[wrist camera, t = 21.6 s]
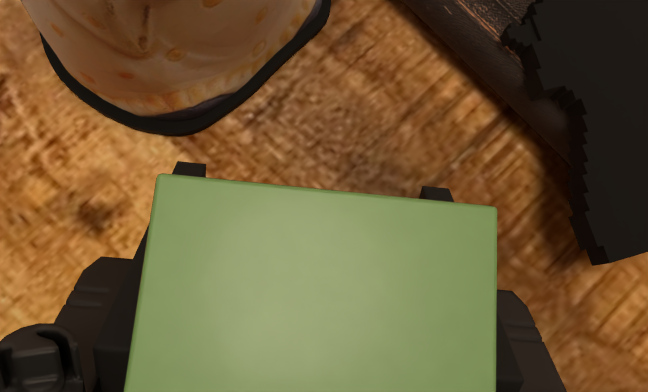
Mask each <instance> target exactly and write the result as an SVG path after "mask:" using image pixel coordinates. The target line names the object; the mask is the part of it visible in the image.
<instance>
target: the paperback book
mask: <svg viewBox="0 0 648 392" xmlns="http://www.w3.org/2000/svg"><path fill="white" fill-rule="evenodd" d="M402 1H403V2H404V3H405V4H406V5H407V6H408V7H409V8H410V9H411V10H412V11H413V12H414V13H415V14H416V15H417V16H418V17H419V18H420V19H421V20H422V21H424V22H425V23H426V24H427V25H428V26H429V27H430V28H431V29H432V30H433V31H434V32H435V33H436V34H437V35H438V36H439V37H440V38H441V39H442V40H443V41H444V42H445V43H446V44H447V45H448V46H449V47H450V48H451V49H452V50H453V51H454V52H455V53H456V54H457V55H458V56H459V57H460V58H461V59H462V60H463V61H464V62H465V63H466V64H467V65H468V66H469V67H470V68H471V69H472V70H473V71H474V72H475V73H477V74H478V75H479V76H480V77H481V78H482V79H483V80H484V81H485V82H486V83H487V84H488V85H489V86H490V87H491V88H492V89H493V90H494V91H495V92H496V93H497V94H498V95H499V96H500V97H501V98H502V99H503V100H504V101H505V102H506V103H507V104H508V105H509V106H510V107H511V108H512V109H513V110H514V111H515V112H516V113H517V114H518V115H519V116H520V117H521V118H522V119H523V120H524V121H525V122H526V123H527V124H529V125H530V126H531V127H532V128H533V129H534V130H535V131H536V132H537V133H538V134H539V135H540V136H541V137H542V138H543V139H544V140H545V141H546V142H547V143H548V144H549V145H550V146H551V147H552V148H553V149H554V150H555V151H556V152H557V153H558V154H559V155H560V156H561V157H562V158H563V159H564V160H565V161H566V162H567V163H568V164H569V165H570V166H571V164H570V161H569V158H568V156H567V153H569V152H570V151H571V149H570V147H569V144H568V141H570V140H572V138H571V135H570V132H569V130H568V127H567V125H568V124H570V123H571V121H570V119H569V116H568V113H567V111H566V109H564V110H561V109H560V106H559V104H558V101H557V100H556V101H552V99H551V97H546V98H542V99H538V100H534V101H530V98H529V95H528V93H527V90H526V87H525V85H524V82H523V81H524V80H525V79H527V76H526V73H525V70H524V68H523V65H522V62H521V60H520V57H519V56H520V54H516V52H515V50H511V51H510V50H509V47H508V46H506V47H503V45H502V43H501V40H500V36H501V35H502V34H503V30H504V29H505V28H506V27H507V26H508V24H509V23H512V22H515V24H516V27H518V26H520V24H521V23H522V21H521V19H522V18H523V16H524V15H525V14H526V13H527V12H528V10H527V7H528V6H529V5H530V4H531V2H535V0H402ZM571 167H572V166H571Z"/></svg>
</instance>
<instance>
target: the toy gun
mask: <svg viewBox="0 0 648 392" xmlns="http://www.w3.org/2000/svg"><path fill="white" fill-rule="evenodd" d="M527 10H528V12H527V13H526V14H525V15H524V16H523V18H522V19H521V21H522V23H521V24H520V26H518V27H516V24H515V22H512V23H509V24H508V26H507V27H506V28H505V29H504V30H503V34H502V35H501V36H500V40H501V43H502V45H503V47H506V46H508V47H509V50H510V51H511V50H515V52H516V54H520V56H519V57H520V60H521V62H522V65H523V68H524V70H525V73H526V76H527V79H525V80H524V81H523V82H524V85H525V87H526V90H527V93H528V95H529V98H530V101H534V100H538V99H542V98H546V97H551V99H552V101H556V100H557V101H558V104H559V106H560V109H561V110H564V109H566V111H567V113H568V116H569V119H570V121H571V123H570V124H568V125H567V127H568V130H569V132H570V135H571V138H572V140H570V141H568V144H569V147H570V149H571V151H570V152H569V153H567V156H568V158H569V161H570V164H571V166H572V169H570V170H568V173H569V175H570V178H571V181H569V182H567V185H568V187H569V190H570V193H571V195H572V198H571V199H568V202H569V205H570V208H571V210H572V213H573V216H571V217H569V220H570V223H571V225H572V228H573V231H574V233H575V236H576V239H577V242H578V244H579V247H580V250H585V249H586V250H587V253H588V256H589V258H590V261H591V264H592V266H593V265H600V264H607V263H612V262H615V261H618V260H621V259H625V258H628V257H631V256H635V255H638V254H641V253H645V252H648V0H535V2H531V4H530V5H529V6H528V7H527Z"/></svg>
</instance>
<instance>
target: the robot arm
mask: <svg viewBox="0 0 648 392" xmlns="http://www.w3.org/2000/svg"><path fill="white" fill-rule="evenodd" d="M172 174H175V175H185V176H195V177H205V178H206V164H199V163H189V162H179V161H178V162H177V164H176V166H175V168H174V170H173V173H172ZM419 199H427V200H437V201H447V202H454V201H453V198H452V196H451V193H450V191H449V189H446V188H436V187H427V186H422V190H421V194H420V198H419ZM148 229H149V225H148V227H147V230H146V232H145V234H144V236H143V238H142V240H141V243H140V245H139V247H138V249H137V251H136V254H135V256H134V258H133V259H124V258H112V257H100V258H99V259H97V260H96V261H95V262H94V263H92V264H91V265H90V266H88V267H87V268H86V269H85V270H83V272H82V274H81V276H80V278H79V279H78V281H77V283H76V285H75V286H74V290H73V291H72V292H71V293H70V295H69V297H68V299H67V301H66V305H64V306H63V308H62V309H61V311H60V313H59V315H58V317H57V318H56V320H55V322H54V324H35V325H31V326H27V327H23V328H20V329H18V330H16V331H15V332H13V333H11V334H9V335H7V336H5V337H4V338H3V339H2V340H1V341H0V392H124V385H125V379H126V372H127V366H128V359H129V353H130V346H131V340H132V333H133V327H134V320H135V314H136V307H137V301H138V294H139V288H140V281H141V275H142V268H143V262H144V255H145V249H146V242H147V236H148ZM496 392H567V391H566V389H565V387H564V385H563V383H562V380H561V378H560V376H559V374H558V372H557V370H556V368H555V365H554V363H553V361H552V359H551V357H550V355H549V352H548V350H547V348H546V346H545V344H544V342H542V337H541V335H540V333H539V331H538V329H537V328H536V327H535V322H534V320H533V318H532V316H531V314H530V312H529V310H528V307H527V306H526V305H525V304H524V303H523V302H522V301H521V300H520V299H519V298H518V297H517V296H516V295H515V294H514V293H513V292H512V291H506V290H497V305H496Z"/></svg>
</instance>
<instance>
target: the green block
mask: <svg viewBox="0 0 648 392" xmlns="http://www.w3.org/2000/svg"><path fill="white" fill-rule="evenodd" d="M496 305H497V209H496V208H495V207H493V206H487V205H477V204H467V203H457V202H447V201H437V200H427V199H417V198H407V197H396V196H386V195H376V194H366V193H356V192H346V191H336V190H326V189H316V188H306V187H296V186H285V185H275V184H265V183H255V182H245V181H235V180H225V179H215V178H205V177H195V176H185V175H175V174H164V173H162V174H159V175H158V176H157V178H156V184H155V191H154V197H153V204H152V210H151V217H150V223H149V229H148V236H147V242H146V249H145V255H144V262H143V268H142V275H141V281H140V288H139V294H138V301H137V307H136V314H135V320H134V327H133V333H132V340H131V346H130V353H129V359H128V366H127V372H126V379H125V385H124V392H496Z"/></svg>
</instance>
